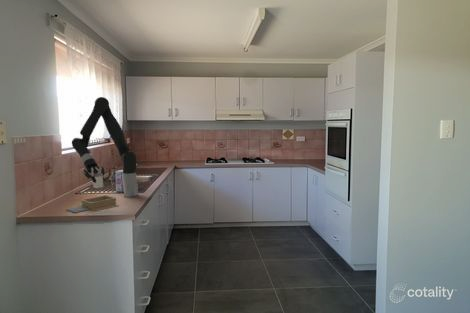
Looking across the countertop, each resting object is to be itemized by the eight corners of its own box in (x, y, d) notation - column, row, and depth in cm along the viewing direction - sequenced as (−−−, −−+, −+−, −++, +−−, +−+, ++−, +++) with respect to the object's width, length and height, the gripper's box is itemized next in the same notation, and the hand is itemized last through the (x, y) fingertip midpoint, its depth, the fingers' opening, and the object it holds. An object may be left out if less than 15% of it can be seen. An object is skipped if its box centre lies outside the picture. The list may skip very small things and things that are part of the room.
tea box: (99, 186, 221) (98, 174, 220) (103, 186, 218) (102, 174, 217) (93, 187, 218) (92, 175, 217) (96, 188, 214) (95, 176, 214)
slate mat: (80, 207, 216) (80, 206, 216) (89, 210, 208) (89, 209, 208) (66, 209, 209) (66, 209, 209) (74, 213, 201) (74, 212, 201)
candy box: (122, 192, 260) (121, 171, 258) (115, 191, 261) (114, 171, 259) (132, 188, 273) (131, 168, 271) (125, 188, 274) (124, 168, 273)
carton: (102, 200, 232) (102, 194, 232) (119, 205, 218) (119, 198, 218) (78, 205, 220) (78, 198, 219) (94, 211, 206) (94, 203, 205)
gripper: (79, 159, 215) (90, 179, 209) (100, 156, 226) (111, 176, 219) (76, 166, 219) (86, 186, 213) (97, 163, 230) (107, 183, 224)
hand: (99, 181), depth 216 cm, fingers closed on tea box, 4 cm apart
